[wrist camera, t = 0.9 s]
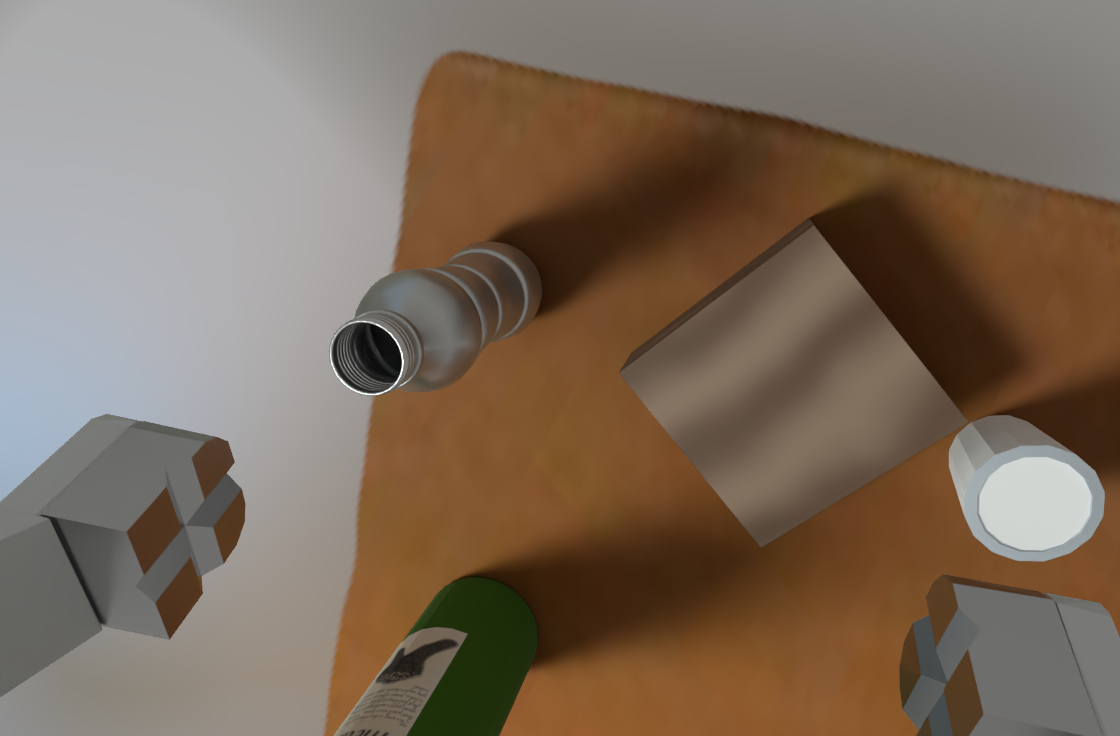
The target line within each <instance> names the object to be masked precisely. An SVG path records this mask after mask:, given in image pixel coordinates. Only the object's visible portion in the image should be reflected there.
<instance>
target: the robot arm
mask: <svg viewBox="0 0 1120 736" xmlns="http://www.w3.org/2000/svg"><path fill="white" fill-rule="evenodd" d="M233 464H234V459H233V456H232V452H231V449H230V446H229V443H228V441H225V440H223V439H220V438H218V437H214V436H209V435H205V434H199V433H195V432H190V431H186V430H182V429H177V428H173V427H168V426H163V425H159V424H154V423H150V422H145V421H143V422H142V421H137V420H133V419H128V418H123V417H119V416H114V415H110V414H105V415H103V416H99V417H96V418H94V419H91V420H90V421H89V422H88V423H87V424H86V425H85V426H84V427H82V428H81V429H80V430H79V431H78V432H77V433H76V434H75V435H74V436H73V437H71V438H70V439H69V440H68V441H67V442H66V443H65V444H64V445H63V446H62V447H60V448H59V449H58V450H57V451H56V452H55V453H54V454H53V455H52V456H51V457H49V459H47V460H46V461H45V462H44V463H43V464H42V465H41V466H40V467H38V468H37V469H36V470H35V471H34V472H33V473H32V474H31V475H30V476H29V477H28V478H26V479H25V480H24V481H23V482H22V483H21V484H20V485H19V486H18V487H17V488H16V489H15V490H13V491H12V492H11V493H10V494H9V495H8V496H7V497H6V498H4V499H3V500H2V501H1V502H0V697H1V696H3V695H4V694H6V693H7V692H9V691H10V690H12V689H13V688H15V687H16V686H18V685H19V684H21V683H23V682H24V681H26V680H27V679H28V678H30V677H32V676H33V675H35V674H36V673H38V672H39V671H41V670H42V669H44V668H45V667H47V666H48V665H50V664H51V663H53V662H55V661H56V660H58V659H59V658H61V657H62V656H64V655H65V654H67V653H68V652H70V651H71V650H73V649H74V648H76V647H77V646H79V645H81V644H82V643H84V642H85V641H87V640H88V639H90V638H91V637H93V636H94V635H96V634H97V633H99V632H100V631H102V627H101V626H105V627H110V628H115V629H120V630H125V631H130V632H135V633H139V634H144V635H149V636H154V637H160V638H165V639H170V638H171V637H172V635H173V634H174V633H175V631H176V630H177V628H178V627H179V626H180V624H181V623H182V621H183V620H184V619H185V617H186V616H187V614H188V613H189V612H190V610H191V609H192V607H193V606H194V605H195V603H196V602H197V601H198V599H199V598H200V596H201V595H202V594H203V591H202V577H201V576H202V575H204V574H206V573H207V572H209V571H211V570H213V569H215V568H217V567H219V566H220V565H222V564H224V563H225V561H226V560H227V558H228V557H229V555H230V554H231V552H232V550H233V549H234V548H235V546H236V545H237V542H238V539H239V537H240V534H241V530H242V528H243V525H244V522H245V501H244V497H243V492H242V489H241V488H240V487H239V486H238V485H237V484H236V483H235V482H234V480H233V479H232V478H231V477H230V476H229V475H228V474H227V472H228V470H229V469H230V468H231V466H232V465H233ZM926 599H927V605H928V610H929V615H928V616H926V617H924V618H922V619H920V620H918V621H916V622H914V623H912V626H911V628H910V630H909V632H908V635H907V637H906V639H905V641H904V645H903V651H902V656H901V662H900V693H901V700H902V708H903V710H904V712H905V713H906V714H907V715H908V717H909V718H910V719H911V720H912V722H913V723H914V724H915V726H916V727H917V728H918V729H919V732H918V733H917V735H916V736H1120V637H1119V634H1118V632H1117V630H1116V627H1115V625H1114V623H1113V620H1112V618H1111V616H1110V613H1109V612H1108V611H1107V610H1106V609H1105V608H1104V607H1103V606H1102V605H1101V604H1100V603H1097V602H1091V601H1086V600H1080V599H1075V598H1069V597H1064V596H1059V595H1053V594H1048V593H1045V594H1042V593H1040V592H1038V591H1032V590H1027V589H1021V588H1016V587H1010V586H1005V585H999V584H993V583H988V582H982V581H977V580H971V579H966V578H960V577H954V576H949V575H941V576H940V577H939V578H938V579H936V580H935V581H934V583H933V584H932V586H931V588H930V590H929V592H928V594H927V596H926Z"/></svg>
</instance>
